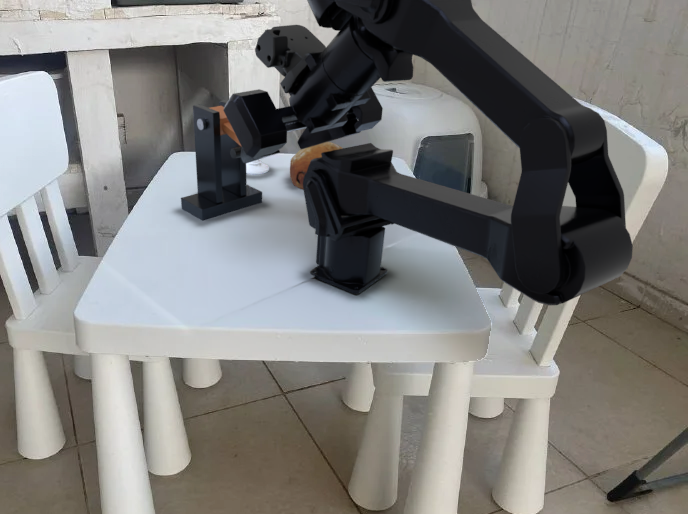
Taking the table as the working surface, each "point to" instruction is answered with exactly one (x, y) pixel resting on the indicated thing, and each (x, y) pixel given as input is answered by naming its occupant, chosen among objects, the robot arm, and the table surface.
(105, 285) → the table surface
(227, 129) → the brown black t-shaped piece
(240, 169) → the stand
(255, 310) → the table surface
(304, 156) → the bread roll
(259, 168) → the chess piece
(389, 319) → the table surface
